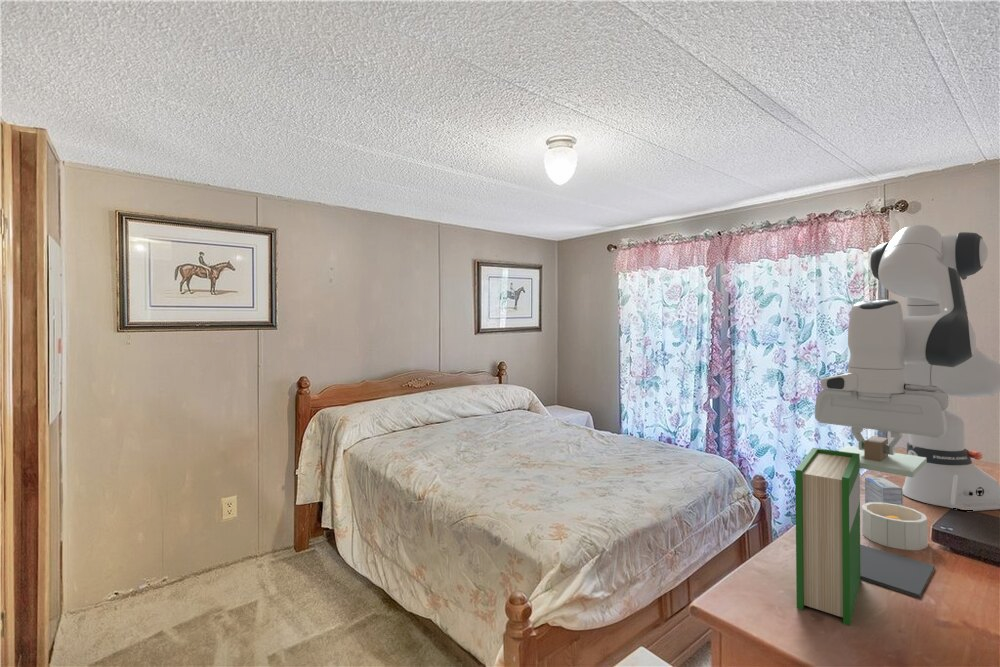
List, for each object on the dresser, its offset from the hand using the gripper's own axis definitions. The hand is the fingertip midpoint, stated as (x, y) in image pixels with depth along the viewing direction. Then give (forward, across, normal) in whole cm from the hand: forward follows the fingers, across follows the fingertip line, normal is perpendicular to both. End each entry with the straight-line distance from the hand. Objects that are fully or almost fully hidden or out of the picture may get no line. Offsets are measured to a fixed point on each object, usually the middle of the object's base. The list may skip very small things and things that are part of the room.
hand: (876, 451), depth 93 cm
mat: (+23, 0, 0) cm, 23 cm away
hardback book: (+23, +3, +17) cm, 29 cm away
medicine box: (+23, +5, -30) cm, 39 cm away
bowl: (+23, +1, -18) cm, 29 cm away
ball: (+20, +1, -18) cm, 27 cm away
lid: (+2, 0, 0) cm, 2 cm away
